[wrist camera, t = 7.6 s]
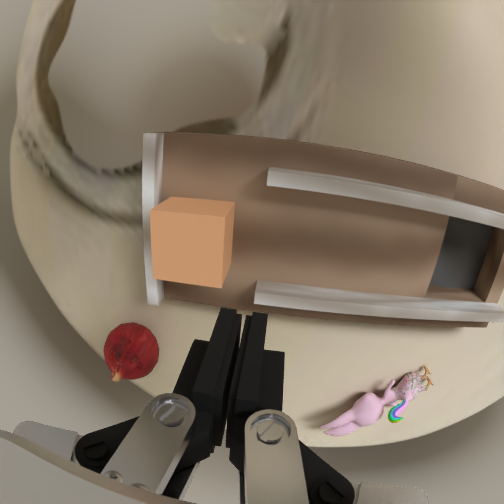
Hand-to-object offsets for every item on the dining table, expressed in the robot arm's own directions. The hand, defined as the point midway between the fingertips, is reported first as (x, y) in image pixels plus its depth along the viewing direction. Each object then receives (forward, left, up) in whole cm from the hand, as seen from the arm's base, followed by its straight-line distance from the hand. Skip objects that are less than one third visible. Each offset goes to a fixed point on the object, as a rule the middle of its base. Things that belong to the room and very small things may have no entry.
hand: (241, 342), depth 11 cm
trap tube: (0, +8, -16) cm, 18 cm away
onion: (+14, -12, -16) cm, 25 cm away
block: (+1, -5, -13) cm, 14 cm away
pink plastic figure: (+20, +16, -16) cm, 31 cm away
